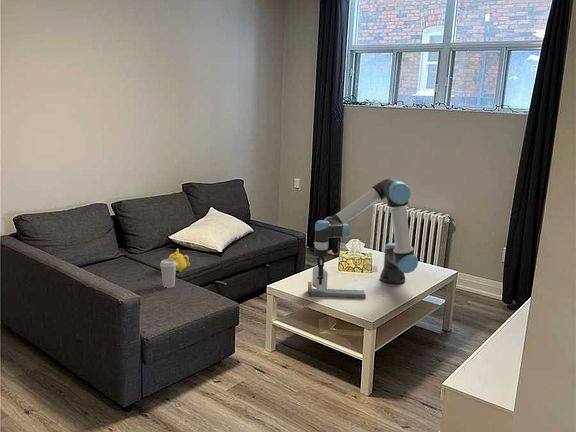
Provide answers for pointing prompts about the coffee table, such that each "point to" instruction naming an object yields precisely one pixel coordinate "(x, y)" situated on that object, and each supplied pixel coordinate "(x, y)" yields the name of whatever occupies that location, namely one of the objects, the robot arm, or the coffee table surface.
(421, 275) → the coffee table surface
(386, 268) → the robot arm
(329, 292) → the rail
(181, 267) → the teapot
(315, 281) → the photo printer
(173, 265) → the coffee cup
